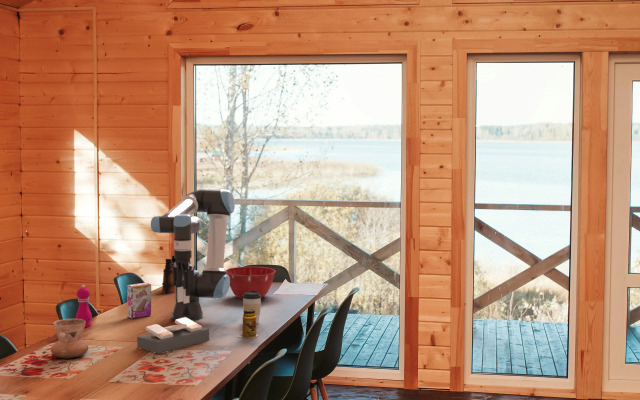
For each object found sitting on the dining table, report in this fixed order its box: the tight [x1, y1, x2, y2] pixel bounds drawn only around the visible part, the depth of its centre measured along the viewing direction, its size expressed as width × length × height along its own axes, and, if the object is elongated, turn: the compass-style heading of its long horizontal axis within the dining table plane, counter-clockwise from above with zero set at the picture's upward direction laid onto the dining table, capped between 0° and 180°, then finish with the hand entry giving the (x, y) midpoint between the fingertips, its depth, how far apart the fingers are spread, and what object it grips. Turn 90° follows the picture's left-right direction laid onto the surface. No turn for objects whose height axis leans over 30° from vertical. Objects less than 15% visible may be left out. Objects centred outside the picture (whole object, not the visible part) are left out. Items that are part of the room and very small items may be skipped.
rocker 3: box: [174, 317, 203, 332], centre depth 321 cm, size 11×6×2 cm, turn 51°
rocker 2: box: [163, 324, 187, 332], centre depth 314 cm, size 11×6×2 cm, turn 51°
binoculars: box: [161, 255, 176, 295], centre depth 430 cm, size 18×8×20 cm, turn 171°
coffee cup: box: [242, 291, 262, 325], centre depth 353 cm, size 9×9×15 cm
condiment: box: [236, 309, 260, 339], centre depth 328 cm, size 7×8×12 cm
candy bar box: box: [126, 282, 152, 320], centre depth 365 cm, size 11×5×16 cm, turn 135°
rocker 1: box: [144, 323, 173, 340], centre depth 308 cm, size 11×6×2 cm, turn 51°
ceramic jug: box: [50, 318, 89, 359], centre depth 297 cm, size 18×14×14 cm
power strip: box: [136, 326, 210, 355], centre depth 316 cm, size 14×31×6 cm, turn 141°
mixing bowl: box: [225, 266, 276, 300], centre depth 412 cm, size 28×28×16 cm
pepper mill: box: [75, 284, 93, 329], centre depth 344 cm, size 7×7×20 cm
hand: (183, 302), depth 322 cm, fingers open, 3 cm apart
